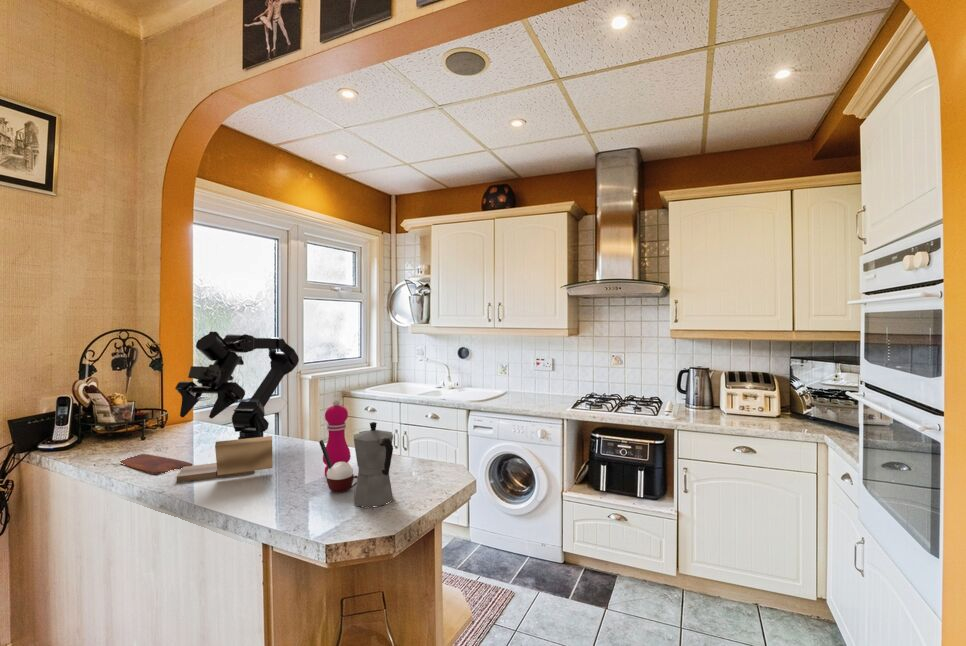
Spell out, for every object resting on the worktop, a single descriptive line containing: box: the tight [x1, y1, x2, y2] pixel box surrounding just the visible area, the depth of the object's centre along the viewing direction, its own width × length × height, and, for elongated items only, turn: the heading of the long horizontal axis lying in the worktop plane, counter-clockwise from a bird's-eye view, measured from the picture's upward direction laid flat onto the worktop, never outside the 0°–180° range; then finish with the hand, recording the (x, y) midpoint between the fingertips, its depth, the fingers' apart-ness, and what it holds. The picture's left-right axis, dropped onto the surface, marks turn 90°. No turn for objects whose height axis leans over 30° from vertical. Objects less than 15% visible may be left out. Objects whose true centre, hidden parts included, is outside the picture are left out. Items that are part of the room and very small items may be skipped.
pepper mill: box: [322, 399, 351, 477], centre depth 121 cm, size 7×7×20 cm
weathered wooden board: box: [176, 462, 256, 483], centre depth 122 cm, size 9×18×2 cm, turn 115°
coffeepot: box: [353, 421, 394, 508], centre depth 101 cm, size 15×9×18 cm, turn 39°
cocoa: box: [318, 439, 358, 494], centre depth 109 cm, size 10×6×12 cm, turn 67°
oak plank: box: [214, 435, 274, 475], centre depth 117 cm, size 10×13×2 cm
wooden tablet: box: [120, 453, 193, 475], centre depth 130 cm, size 27×10×2 cm, turn 62°
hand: (195, 417), depth 122 cm, fingers open, 9 cm apart
